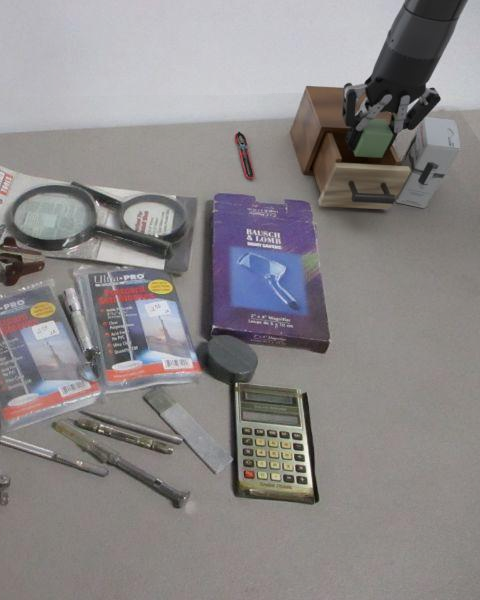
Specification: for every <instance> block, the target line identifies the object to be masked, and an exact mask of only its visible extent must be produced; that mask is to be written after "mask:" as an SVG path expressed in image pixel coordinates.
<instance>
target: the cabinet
mask: <svg viewBox="0 0 480 600" xmlns="http://www.w3.org/2000/svg"><path fill="white" fill-rule="evenodd" d="M343 89H344V87H338V86H317V85H313V86H312V85H306V86H305V88H304V91H303V93H302V97H301V100H300V102H299V105H298V108H297V111H296V114H295V117H294V119H293V122H292V125H291V129H290V131H289V135H290V137H291V140H292V144H293V147H294V150H295V154H296V157H297V159H298V160H297V161H298V163H299V166H300V170H301V173H302V175H306V176H307V175H308V176H315V175H314V172H313V169H312V166H311V164H312V162H313V159H314V157H315V154H316V152H317V149H318V147H319V144H320V142H321V139H322V137H323V134H324V132H325V131H332V132H348V131H349V129H350V127H348V126H346V124H345V122H344V119H343V117H342V107H343ZM366 97H367V96H366V93H363V94H362V95H361V97H360V99H359V101H358V102H356V106H355V114H356V113H357V112H358V110H359V109H360V106H361V104H362V102H363V101H364V100H365V98H366ZM390 114H391V112H388V111H385V112H379V113H378V115H377V116H376V117H375V118H374V119H386V121H387V123H388V125H389V124H390V122H389V121H390ZM397 137H398V135H397V136H396V138H395V140H394V142H395V141H396V139H397ZM394 142H393V144H394Z"/></svg>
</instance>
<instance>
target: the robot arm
mask: <svg viewBox="0 0 480 600" xmlns="http://www.w3.org/2000/svg"><path fill="white" fill-rule="evenodd" d="M468 1H469V0H404V2H403V4H402V6H401V7H400V9H399V10H398V12H397V15H396V16H395V18H394V20H393V22H392V24H391V26H390V28H389V30H388V31H387V35H386V38H385V41H384V42H383V45H382V48H381V50H380V51H379V54H378V56H377V59H376V61H375V63H374V66H373V69H372V72H371V75H370V76H369V77H368V78H367V79H366V80H365V81H364V82H363V83H360V84H354V85H353V84H352V82H347V83H345V84H344V85H343V88H344V89H343V107H342V117H343V119H344V122H345V124H346V126H348V127H350V129H349V131H348V133H347V136H346V138H345V142H346V144H347V147H348V148H349V150H355V148H356V146H357V144H358V142H359V140H360V137H361V135H362V133H363V129H364V128H365V126H366V125H367V124H368V123H369V122H370V120H373V119H374V118H375V117H376V116H377V115H378V113H379V112H385V111H388V112H390V121H389V122H390V124H389V127H390V129H391V131H392V133H393V137H392V139H391V141H390V143H389V145H388V147H387V149H389V148H390V147H391V146H392V144H393V145H394V143H393V142H395V141H396V139H397V137H398V134H399V133H401V132H403V130H408V131H413V130H415V129H416V128H418V126H419V125H420V123H421V121H422V120H423V119H424V118H425V117H426V116H427V117H428V115H429V114H430V113H431V112H432V110H433V109H434V108H435V107H437V105H438V104H439V103H440V102H441V100H442V98H441V96H440V94H439V92H438V91H437V89H436V88H435V87H427V83H428V82H429V81H430V79H431V78H432V75H433V74H434V72H435V70H436V68H437V66H438V64H439V62H440V60H441V59H442V56H443V54H444V52H445V51H446V49H447V47H448V44H449V43H450V41H451V39H452V37H453V34H454V33H455V30H456V27H457V25H458V22H459V19H460V18H461V15H462V13H463V12H464V9H465V7H466V5H467V3H468ZM363 93H366V96H367V97H366V98H365V100H364V101H363V102H362V104H361V106H360V109H359V110H358V112H357V113H356V114H355V106H356V102H358V101H359V99H360V97H361V95H362V94H363ZM414 102H415V103H414ZM412 103H414V104H413V106H411V108H410V109H409V110H408V108H409V106H410V105H411V104H412ZM396 136H397V137H396ZM395 138H396V139H395ZM394 140H395V141H394ZM387 149H386V150H387ZM385 152H386V151H385Z"/></svg>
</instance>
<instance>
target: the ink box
mask: <svg viewBox="0 0 480 600" xmlns="http://www.w3.org/2000/svg"><path fill="white" fill-rule="evenodd" d="M457 124H458V123H457V121H456V120H453V119H447V118H439V117H431V116H428V115H427V116H426V117H425V118H424V119H423V120H422V121H421V122H420V123H419V124H418V126H417V129H416V131H415V133H414V135H413V137H412V139H411V140H410V143H409V145H408V147H407V149H406V151H405V152H404V154H403V156H402V158H401V159H400V161H401V163H400V165H399V166H409V168H410V170H411V172H410V174H409V176H408V178H407V179H406V181H405V183H404V185H403V186H402V188H401V190H400V192H399V194H398V195H397V197H396V199H395V203H397V204H401V205H407V206H412V207H416V208H419V209H425V208H427V206H428V204H429V203H430V201H431V199H432V198H433V196H434V195H435V193H436V191H437V189H438V187H439V186H440V184H441V182H442V181H443V179H444V178H445V176H446V174H447V172H448V171H449V169H450V168H451V167H452V164H453V163H454V161H455V159H456V158H457V156H458V154H459V153H460V149H461V141H460V134H459V131H458V125H457Z"/></svg>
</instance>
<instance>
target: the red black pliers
mask: <svg viewBox="0 0 480 600" xmlns="http://www.w3.org/2000/svg"><path fill="white" fill-rule="evenodd" d="M234 135H235V136H234V139H235V142H236V144H235V145H238V146H237V147H238V148H237V150H238V151H239V156H240V159H241V160H240V161H241V164H242V167H243V172H244V175H245V177H246V178H248V180H253V179H254V178H255V172H254V169H253V164H252V160H251V157H250V153H249V148H248V146H247V145H248V142H247V138H246V137H245V134H244V133H242V132H241V131H237V133H235V134H234ZM238 138H239V140H238ZM243 141H244V142H243ZM247 165H248V167H247ZM249 173H250V174H249Z"/></svg>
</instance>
